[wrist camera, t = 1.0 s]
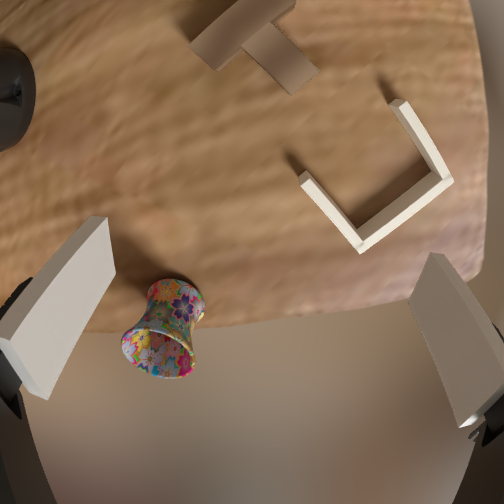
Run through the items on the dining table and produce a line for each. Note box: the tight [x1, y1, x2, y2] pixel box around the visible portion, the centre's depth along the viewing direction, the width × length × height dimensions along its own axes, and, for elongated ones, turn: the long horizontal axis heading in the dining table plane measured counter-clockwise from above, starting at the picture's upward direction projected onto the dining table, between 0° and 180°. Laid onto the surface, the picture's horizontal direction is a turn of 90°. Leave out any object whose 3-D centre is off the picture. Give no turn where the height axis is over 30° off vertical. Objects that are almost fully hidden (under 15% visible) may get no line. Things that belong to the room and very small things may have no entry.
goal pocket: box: [298, 99, 454, 254], centre depth 31 cm, size 11×14×3 cm
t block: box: [187, 0, 320, 96], centre depth 24 cm, size 10×10×4 cm
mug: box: [121, 279, 205, 378], centre depth 39 cm, size 12×9×11 cm
